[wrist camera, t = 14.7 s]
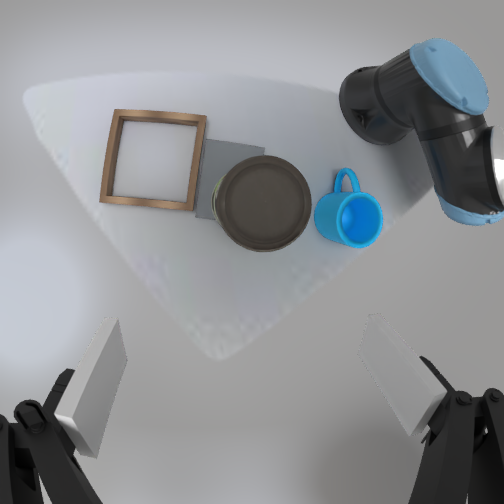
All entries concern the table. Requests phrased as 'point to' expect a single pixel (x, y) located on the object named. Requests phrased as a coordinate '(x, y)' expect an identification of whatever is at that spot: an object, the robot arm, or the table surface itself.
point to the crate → (113, 147)
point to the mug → (349, 214)
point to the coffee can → (262, 203)
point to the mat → (219, 169)
